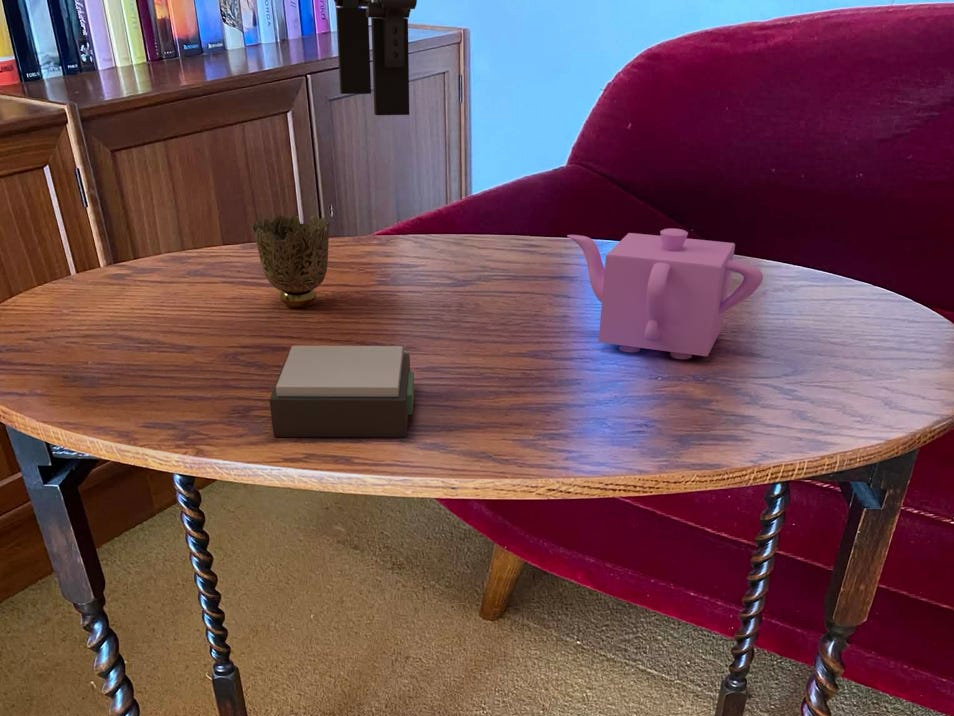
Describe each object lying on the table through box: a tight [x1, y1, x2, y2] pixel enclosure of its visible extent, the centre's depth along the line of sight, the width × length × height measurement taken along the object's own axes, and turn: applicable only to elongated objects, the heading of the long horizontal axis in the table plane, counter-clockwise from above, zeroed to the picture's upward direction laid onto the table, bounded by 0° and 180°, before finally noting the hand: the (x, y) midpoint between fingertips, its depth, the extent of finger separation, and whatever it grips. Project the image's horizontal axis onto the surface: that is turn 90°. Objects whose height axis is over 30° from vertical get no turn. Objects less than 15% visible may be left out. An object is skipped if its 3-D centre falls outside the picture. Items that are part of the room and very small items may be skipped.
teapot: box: [566, 228, 764, 360], centre depth 88 cm, size 18×14×10 cm
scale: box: [268, 345, 415, 438], centre depth 76 cm, size 10×10×4 cm
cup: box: [252, 213, 330, 309], centre depth 97 cm, size 8×7×8 cm
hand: (372, 103), depth 82 cm, fingers open, 13 cm apart
